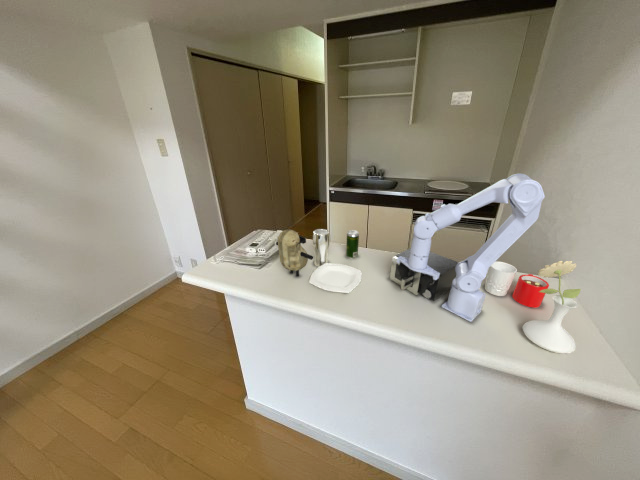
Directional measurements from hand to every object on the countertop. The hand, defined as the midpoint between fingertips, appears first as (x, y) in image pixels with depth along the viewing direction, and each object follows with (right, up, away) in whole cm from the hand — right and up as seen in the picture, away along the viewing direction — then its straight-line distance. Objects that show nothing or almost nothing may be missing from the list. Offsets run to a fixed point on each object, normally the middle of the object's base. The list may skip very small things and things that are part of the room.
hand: (413, 288), depth 88 cm
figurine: (-43, +2, +16) cm, 45 cm away
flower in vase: (+30, -12, -16) cm, 36 cm away
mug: (+40, -4, +2) cm, 40 cm away
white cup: (+32, -2, +5) cm, 32 cm away
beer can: (-18, +9, +30) cm, 36 cm away
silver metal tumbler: (-32, +6, +24) cm, 40 cm away
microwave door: (-3, -1, +6) cm, 7 cm away
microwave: (+6, 0, +10) cm, 12 cm away
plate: (-26, +1, +12) cm, 28 cm away
